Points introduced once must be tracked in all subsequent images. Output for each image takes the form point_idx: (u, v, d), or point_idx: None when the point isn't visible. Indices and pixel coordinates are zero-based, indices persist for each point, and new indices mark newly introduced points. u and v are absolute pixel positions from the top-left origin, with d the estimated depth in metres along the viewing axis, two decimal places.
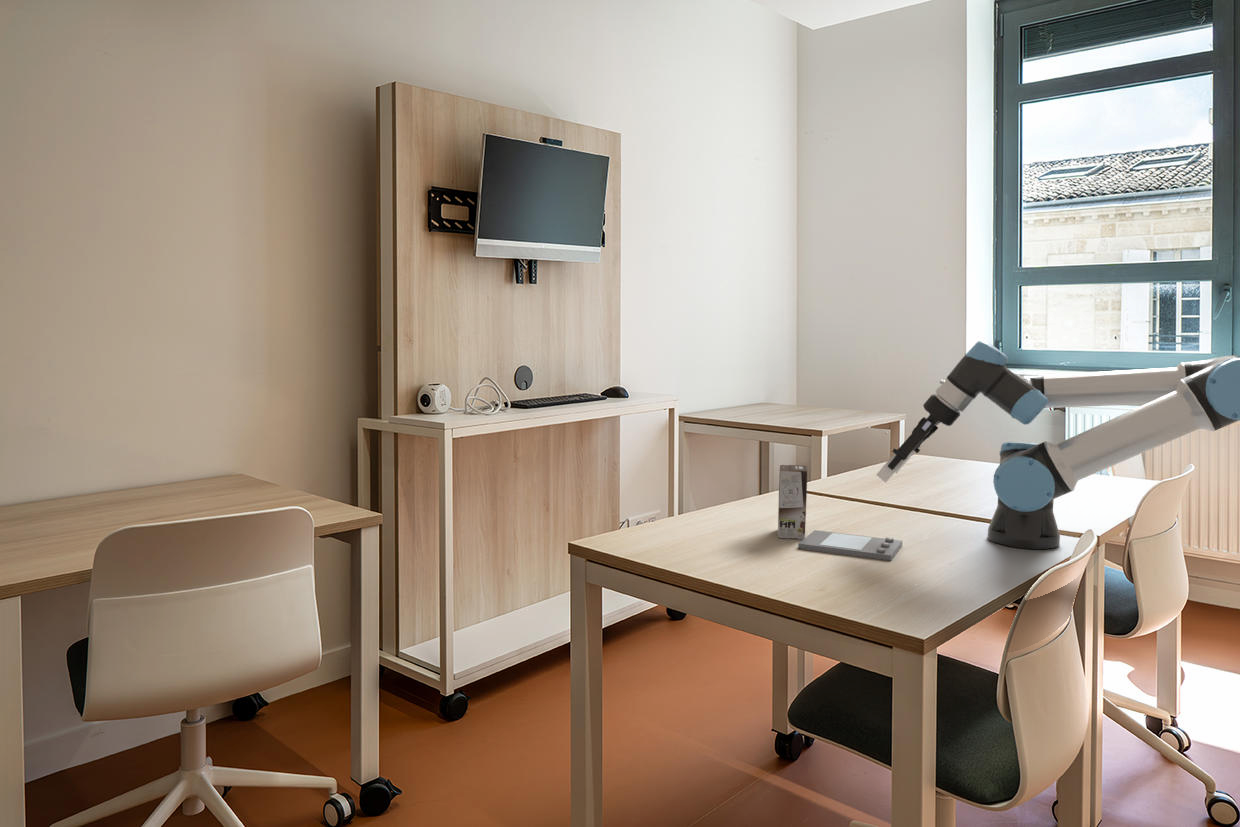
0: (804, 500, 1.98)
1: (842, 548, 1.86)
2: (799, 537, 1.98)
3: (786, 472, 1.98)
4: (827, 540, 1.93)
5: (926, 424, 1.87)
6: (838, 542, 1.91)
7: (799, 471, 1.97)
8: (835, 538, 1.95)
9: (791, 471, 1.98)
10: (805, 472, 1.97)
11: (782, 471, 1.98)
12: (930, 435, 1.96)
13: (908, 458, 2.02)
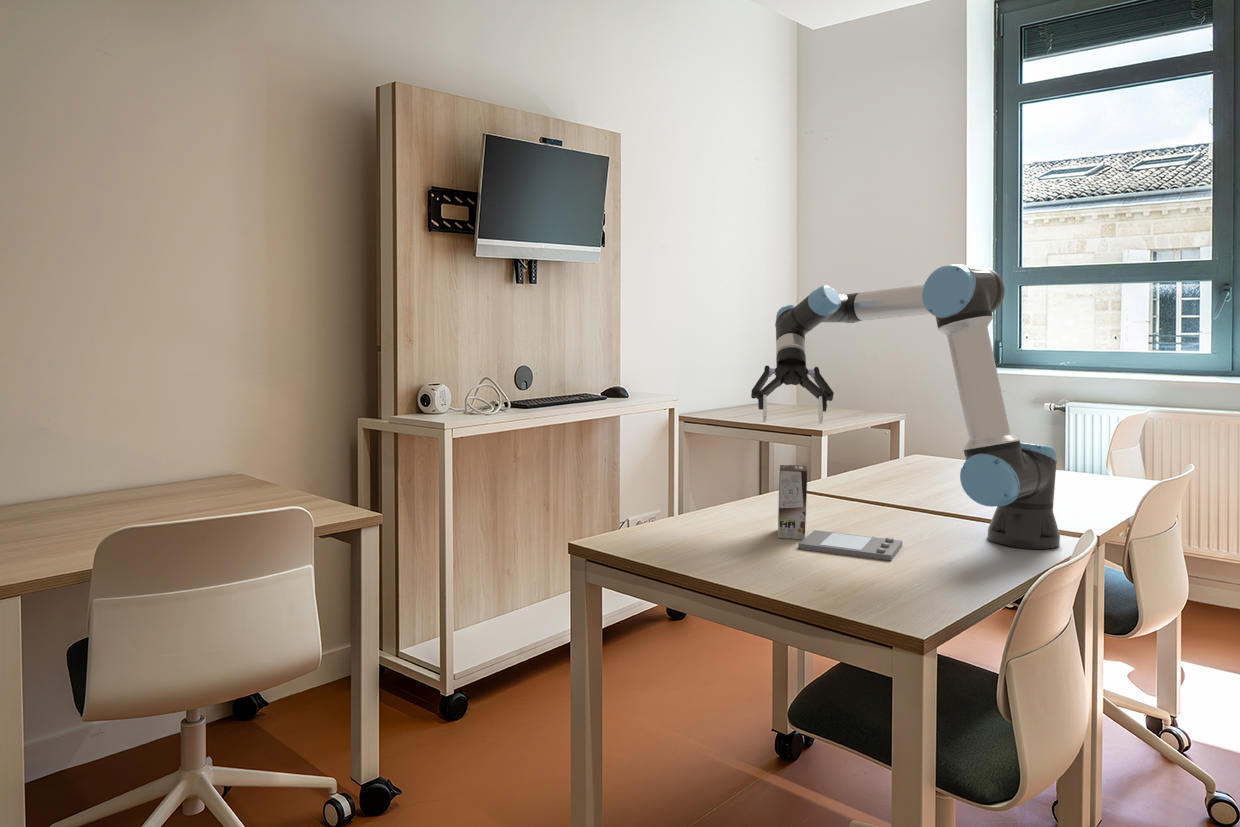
0: (804, 500, 1.98)
1: (842, 548, 1.86)
2: (799, 537, 1.98)
3: (786, 472, 1.98)
4: (827, 540, 1.93)
5: None
6: (838, 542, 1.91)
7: (799, 471, 1.97)
8: (835, 538, 1.95)
9: (791, 471, 1.98)
10: (805, 472, 1.97)
11: (782, 471, 1.98)
12: (803, 376, 2.17)
13: (819, 402, 2.12)
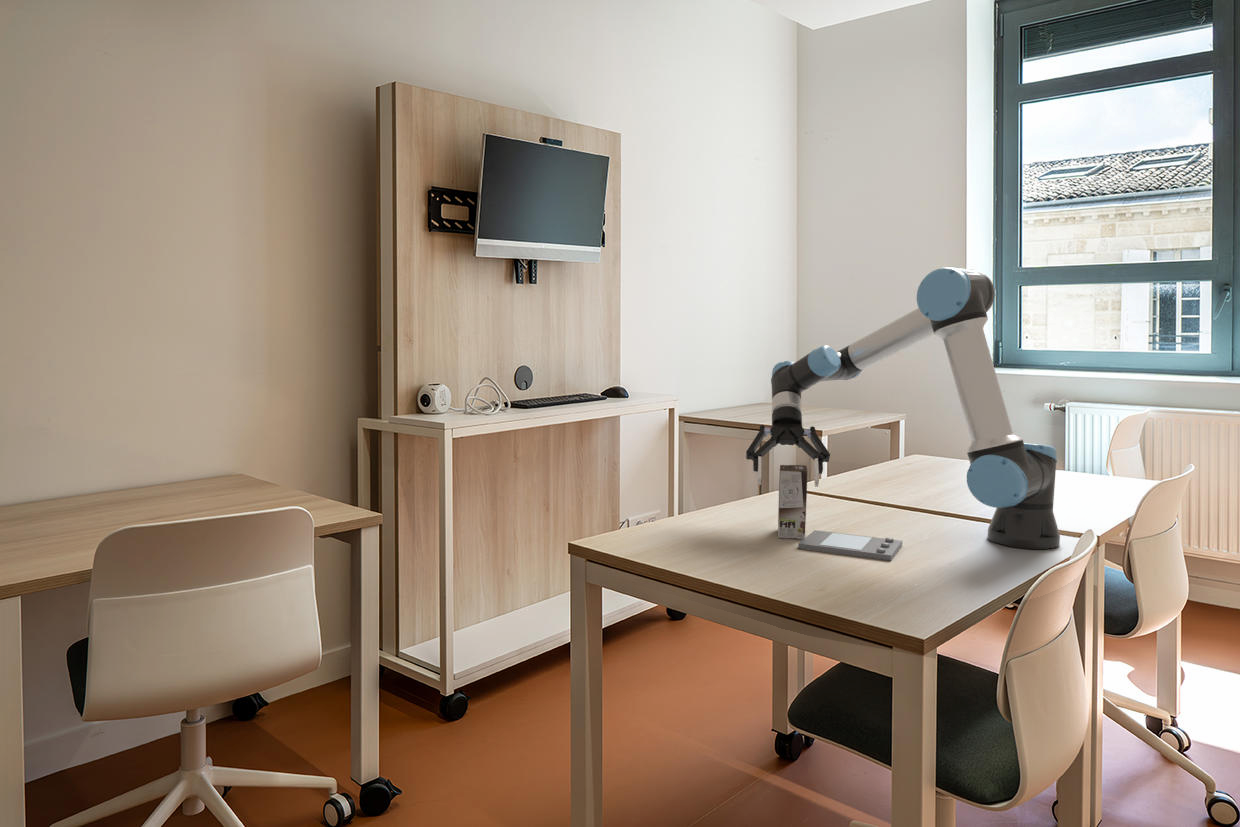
0: (804, 500, 1.98)
1: (842, 548, 1.86)
2: (799, 537, 1.98)
3: (786, 472, 1.98)
4: (827, 540, 1.93)
5: None
6: (838, 542, 1.91)
7: (799, 471, 1.97)
8: (835, 538, 1.95)
9: (791, 471, 1.98)
10: (805, 472, 1.97)
11: (782, 471, 1.98)
12: (799, 436, 2.13)
13: (815, 464, 2.07)
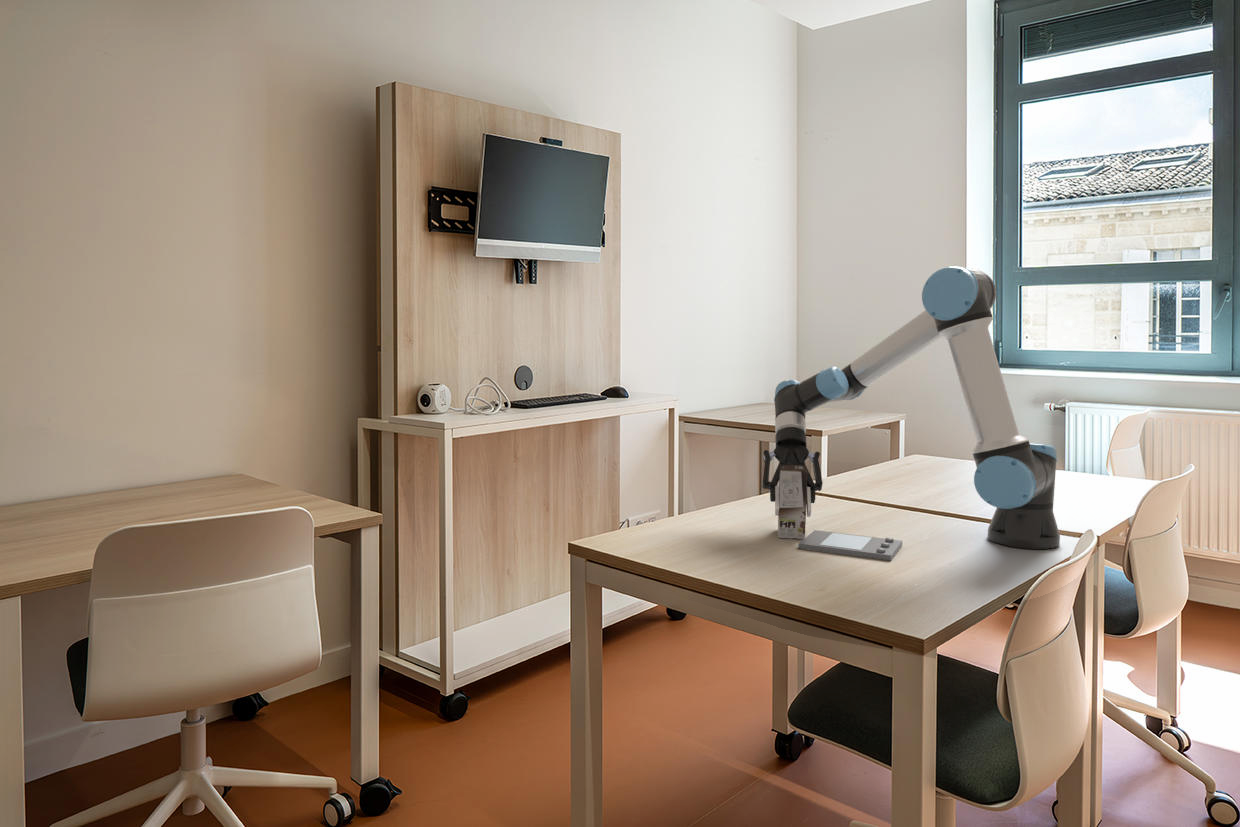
0: (804, 500, 1.98)
1: (842, 548, 1.86)
2: (799, 537, 1.98)
3: (786, 472, 1.98)
4: (827, 540, 1.93)
5: (763, 456, 2.10)
6: (838, 542, 1.91)
7: (799, 471, 1.97)
8: (835, 538, 1.95)
9: (791, 471, 1.98)
10: (805, 472, 1.97)
11: (782, 471, 1.98)
12: (800, 459, 2.06)
13: (807, 494, 2.01)
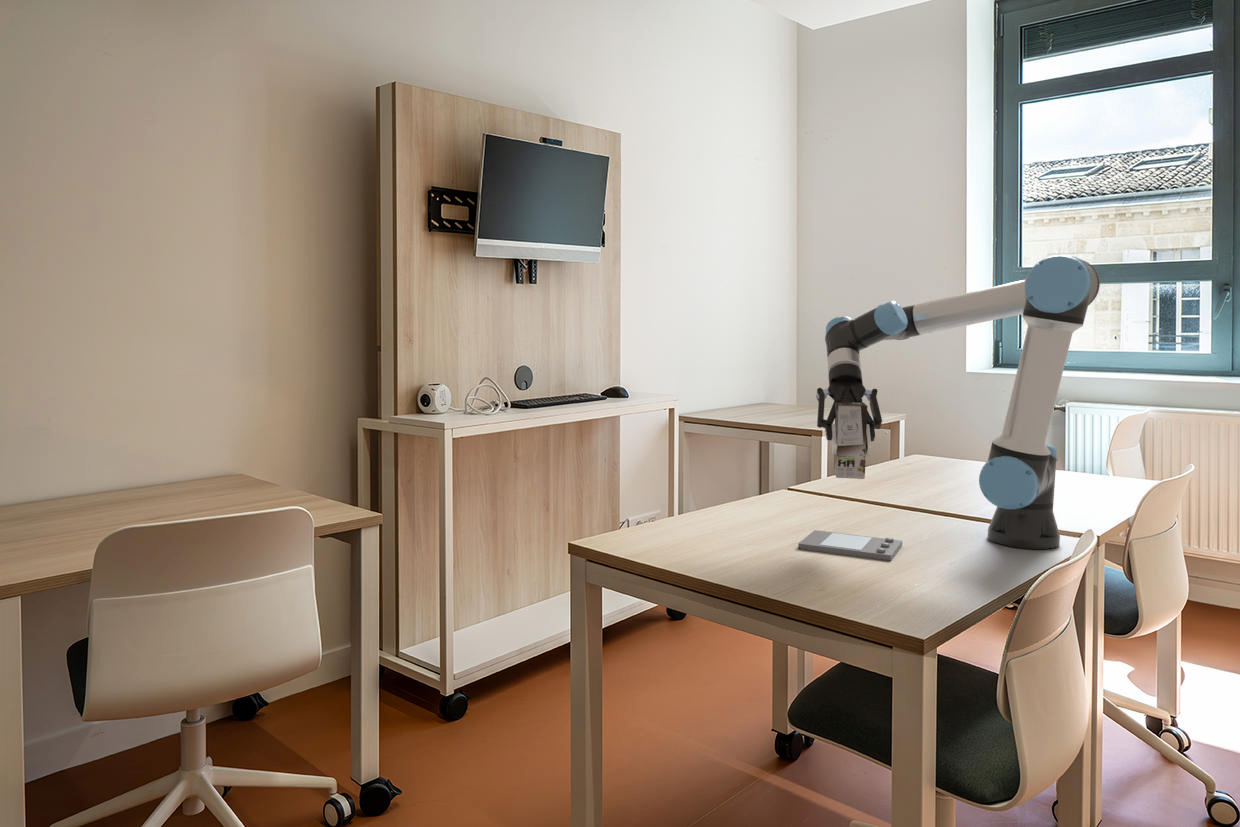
0: (864, 437, 1.85)
1: (842, 548, 1.86)
2: (859, 476, 1.86)
3: (845, 407, 1.85)
4: (827, 540, 1.93)
5: None
6: (838, 542, 1.91)
7: (859, 406, 1.85)
8: (835, 538, 1.95)
9: (850, 406, 1.85)
10: (865, 406, 1.84)
11: (840, 406, 1.85)
12: (857, 397, 1.94)
13: (866, 431, 1.88)
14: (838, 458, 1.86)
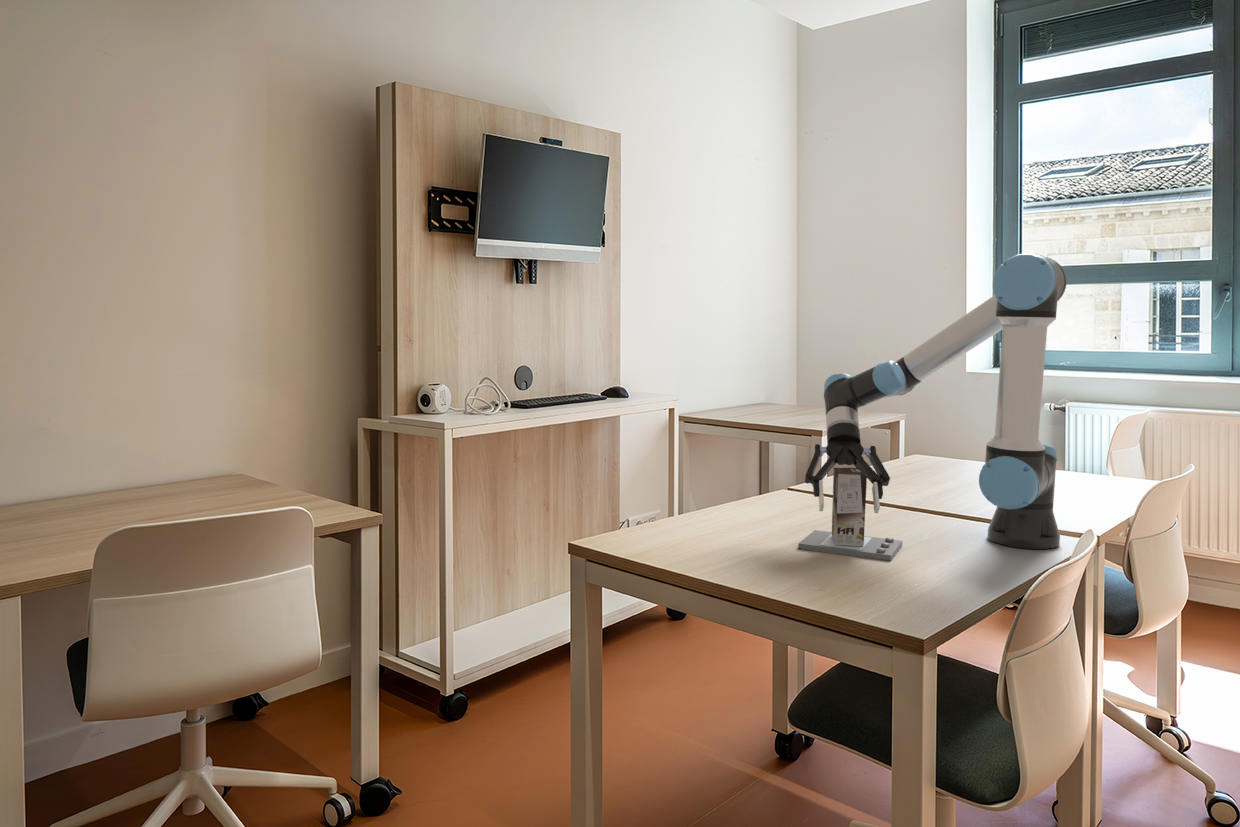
0: (863, 505, 1.87)
1: (842, 548, 1.86)
2: (858, 544, 1.87)
3: (844, 475, 1.87)
4: (827, 540, 1.93)
5: (814, 450, 2.00)
6: None
7: (858, 474, 1.86)
8: None
9: (850, 474, 1.86)
10: (865, 475, 1.86)
11: (840, 474, 1.87)
12: (858, 456, 1.95)
13: (874, 489, 1.90)
14: (837, 526, 1.88)
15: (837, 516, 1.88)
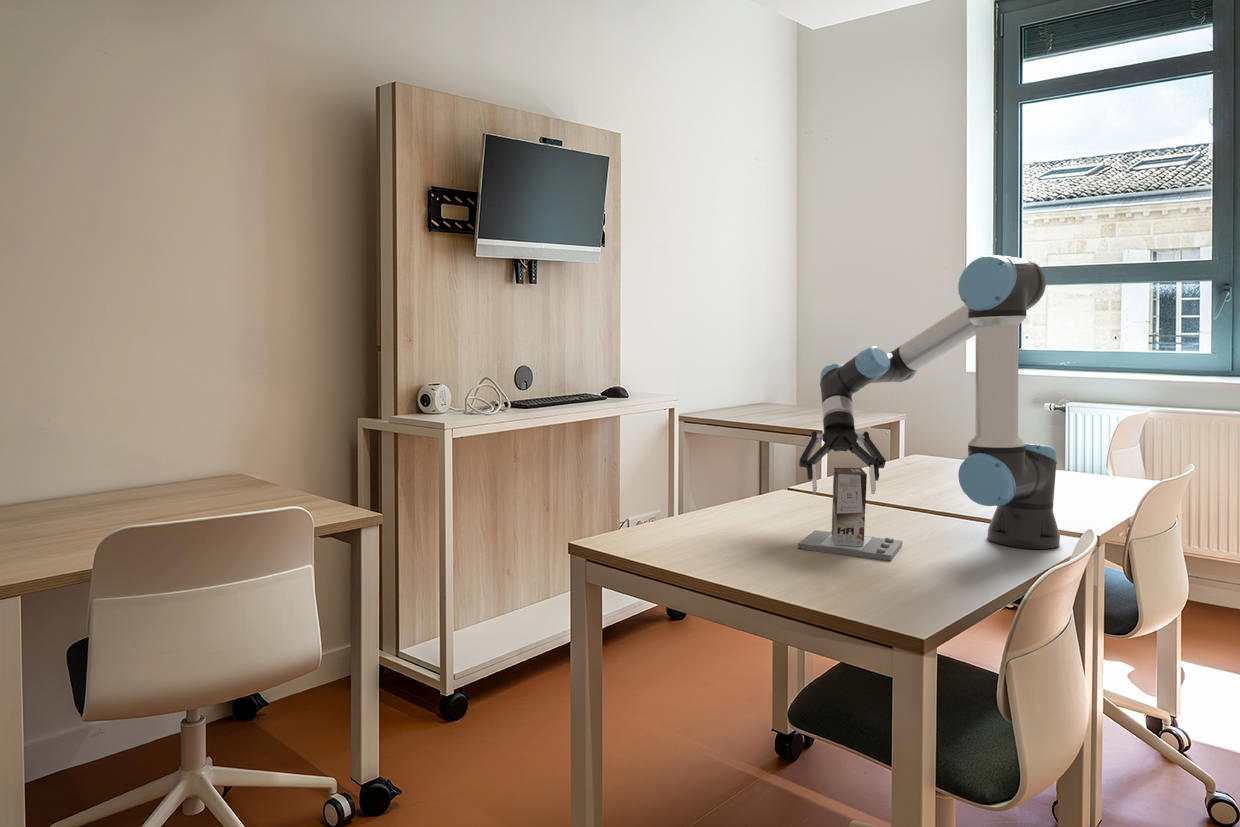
0: (863, 505, 1.87)
1: (842, 548, 1.86)
2: (858, 544, 1.87)
3: (844, 475, 1.87)
4: (827, 540, 1.93)
5: None
6: None
7: (858, 474, 1.86)
8: None
9: (850, 474, 1.86)
10: (865, 475, 1.86)
11: (840, 474, 1.87)
12: (853, 442, 2.09)
13: (871, 471, 2.04)
14: (837, 526, 1.88)
15: (837, 516, 1.88)
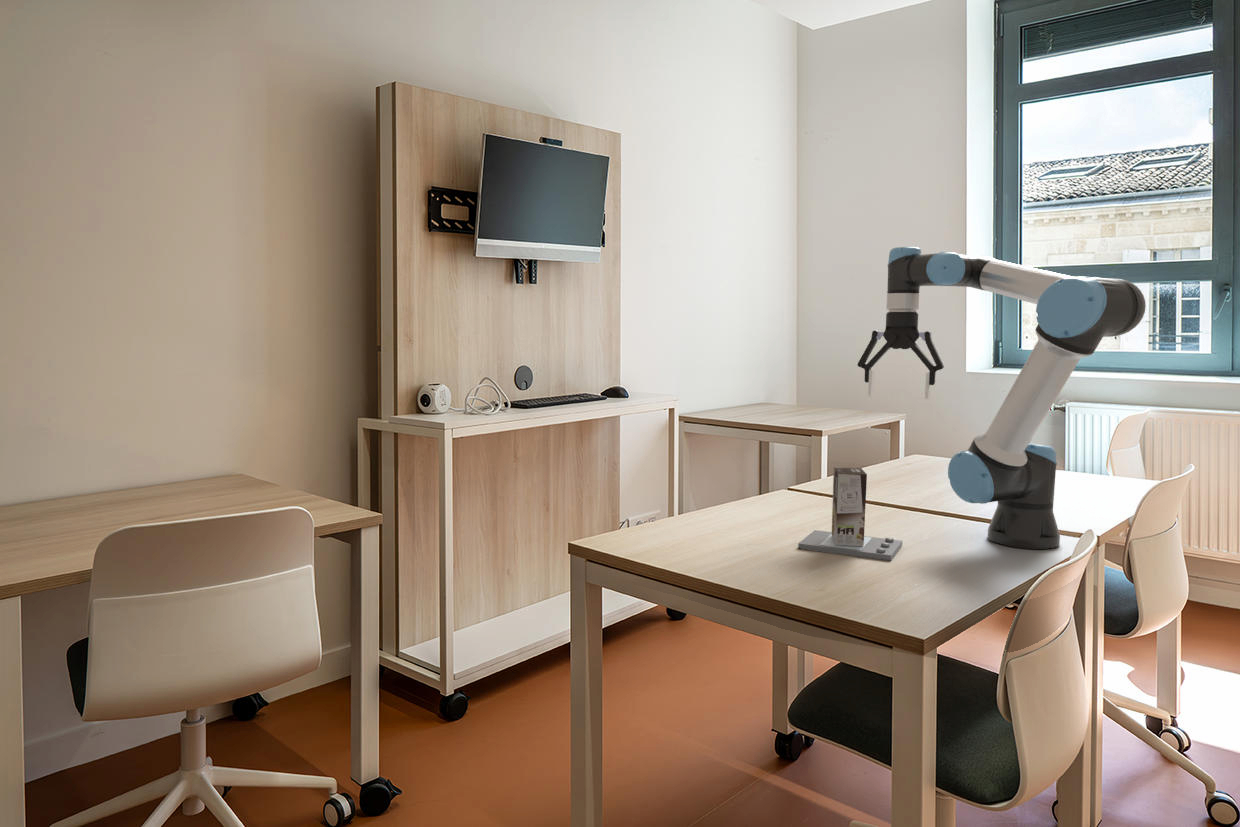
0: (863, 505, 1.87)
1: (842, 548, 1.86)
2: (858, 544, 1.87)
3: (844, 475, 1.87)
4: (827, 540, 1.93)
5: None
6: None
7: (858, 474, 1.86)
8: None
9: (850, 474, 1.86)
10: (865, 475, 1.86)
11: (840, 474, 1.87)
12: (911, 346, 2.09)
13: None
14: (837, 526, 1.88)
15: (837, 516, 1.88)
